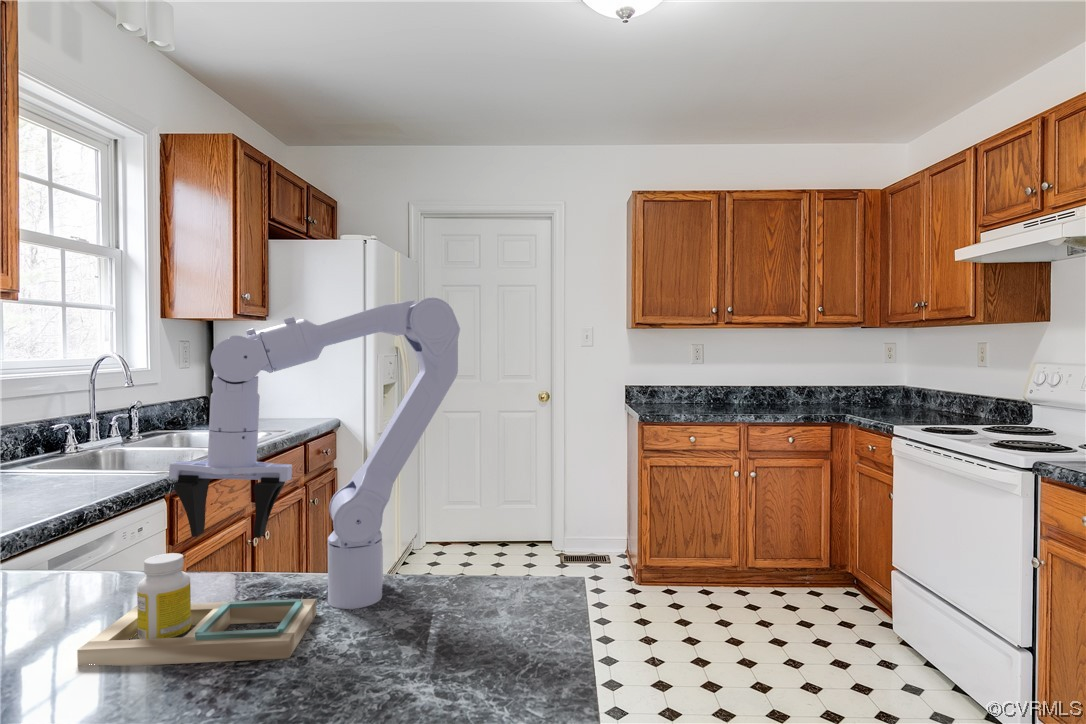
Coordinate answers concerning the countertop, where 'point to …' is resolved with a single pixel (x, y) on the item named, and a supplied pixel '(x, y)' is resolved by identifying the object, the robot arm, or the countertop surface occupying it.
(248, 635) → the panel
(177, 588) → the supplement bottle
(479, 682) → the countertop surface
